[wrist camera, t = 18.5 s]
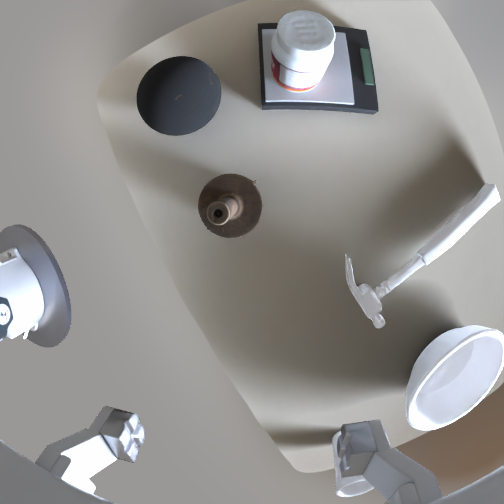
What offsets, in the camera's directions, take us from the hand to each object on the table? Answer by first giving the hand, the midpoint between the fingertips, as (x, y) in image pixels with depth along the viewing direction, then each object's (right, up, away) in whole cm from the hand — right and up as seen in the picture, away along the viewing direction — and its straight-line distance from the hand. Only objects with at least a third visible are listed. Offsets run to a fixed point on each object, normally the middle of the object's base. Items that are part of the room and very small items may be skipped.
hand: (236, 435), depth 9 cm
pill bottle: (+6, +29, +20) cm, 36 cm away
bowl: (+37, -13, +31) cm, 50 cm away
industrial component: (-2, +13, +27) cm, 30 cm away
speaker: (-8, +27, +24) cm, 37 cm away
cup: (+20, -31, +37) cm, 52 cm away
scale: (+9, +32, +21) cm, 39 cm away
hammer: (+27, +10, +26) cm, 39 cm away
